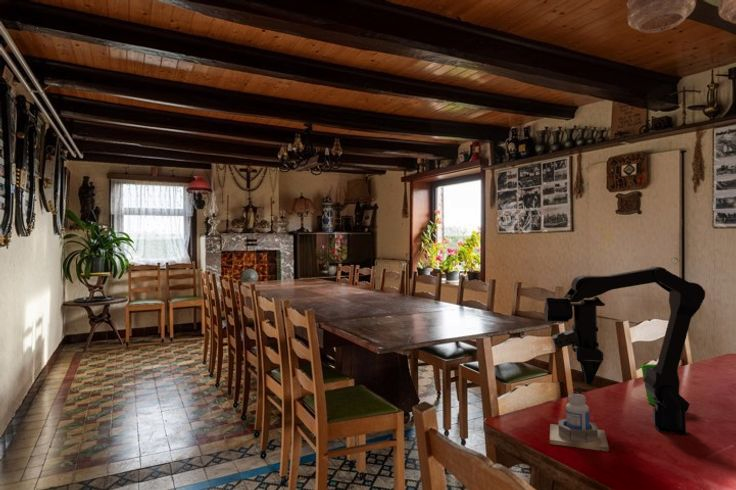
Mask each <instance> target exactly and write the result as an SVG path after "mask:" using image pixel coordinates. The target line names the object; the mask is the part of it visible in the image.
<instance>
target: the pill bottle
mask: <svg viewBox="0 0 736 490" xmlns="http://www.w3.org/2000/svg"><path fill="white" fill-rule="evenodd" d="M586 399H587V398H586V396H585V395H583V394H582V393H581V394H580V393H570V394H568V399H567V400H568V403H566V404H565V417H566V418H565V419H566V425H567V427H569V428H571V429H577V430H588V429H590V422H591V421H590V408H589V406H588V404H587V403H586Z"/></svg>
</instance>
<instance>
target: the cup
mask: <svg viewBox="0 0 736 490" xmlns="http://www.w3.org/2000/svg"><path fill="white" fill-rule="evenodd" d="M655 366H656V364H653V363H651V364H650V363H649V364H647V363H646V364H642V365H640V369H641V371H642V372H641V373H642V377H643V379H644V378H645V376H646V370H647V367H649V368H651V369H653V368H654V367H655ZM643 382H644V381H643ZM644 384H645V382H644ZM645 392H646V397H647V402H648V404H650V405H652V406H655V403H658V402H657V401H655V400H654V398H653V396H652V395H651V394H650V393H649V392H648V391H647V390H646V389H645Z"/></svg>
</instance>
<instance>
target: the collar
mask: <svg viewBox="0 0 736 490" xmlns="http://www.w3.org/2000/svg"><path fill="white" fill-rule="evenodd" d="M549 444H550V445H556V446H557V445H558V446H564V447H573V448H578V449H587V450H593V451H594V450H595V451H600V450H601V452H608V451H609V452H610V447H609V443H608V440H607V436H606V432H605V430H604V429H598V427H597V424H595V423H594V422H591V421H590V429H588V430H577V429H571V428H569V427H567V425H566V418H563V419H559V420H558V424H553V423H550V426H549Z"/></svg>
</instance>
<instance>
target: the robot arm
mask: <svg viewBox="0 0 736 490" xmlns="http://www.w3.org/2000/svg"><path fill="white" fill-rule="evenodd" d="M654 283H655V284H656V285H658V286H659V287H660V288H662V289H663V290H664V291H666V292H668V293H669V295H668V303H669V304H668V305H669V309H670V314H669V319H668V323H667V326H666V330H665V334H664V338H663V341H662V345H661V349H660V352H659V355H658V356H659V357H658V360H657V363H656V364H655V365H656V366H655V367H654V368H653V369H651V368H649V367H647V370H646V376H645V378H643V379H642V381H643V382H645V383H644V387H645V391H646V390H647V391H648V392H649V393H650V394H651V395H652V396H653V398H654V400H655V401H657V402H658V403H655V405H654V408H653V409H652V419H653V422H652V423H653V425H654V426H655V428H656V429H657V431H658V432H660V433H661V432H663V433H667V434H669V433H670V434H678V435H685V436H686V435H688V434H689V432H688V431H687V429H686V428H687V427H686V426H687V425H686V423H687V421H686V412H688V410H689V408H690V405H691V404H690V402H688V400H686V399H685V398H684V397H683V396H682V395H681V394H680V385H681V384H680V377H679V372H678V371H679V370H678V369H679V367H680V364H681V363H680V362H681V358H682V355H683V351H684V347H685V344H686V343H685V342H686V340H687V335H688V333H689V329H690V323H691V321H692V318H693V317H694V316H695V314H696V313H697V312H698V311H699V310H700V309H701V306H702V305H703V302H704V300H705V298H706V290H705V289H704V287H703V286H702V285H700V284H699V283H696V282H692V281H687V280H686V279H683V278H682V277H680V276H678V275H676V274H674V273H672V272H671V271H669V270H667V269H666V268H665V267H662V266H651V267H649V268H644V269H638V270H633V271H625V272H620V273H613V274H609V275H578V276H575V277H574V278H573V279H572V281H571V284H570V289H569V290H568V291H567V292H566V294H564V296H563V297H551V296H546V297H545V302H544V307H543V313H544V314H543V315H544V320H545V322H546V323H568V322H569V321H570V320H572V319H573V325H572V326H571V329H570V330H567V331H566V330H565V331H562V332H559V333H556V334H553V335H552V336H551V338H552V340H553V343H554V346H555V348H556V349H557V350H561V349H563V348H565V347H569V346H571V349H572V351H573V352H575V357H576V360H577V362H579V364H580V368H581V371H582V375H583V376H584V378H585V381H586V382H585V383H586V384H587V385H592V384H593V381H594V380H595V377H596V375H597V373H598V370H599V369H600V367H601V365H602V364H603V362H604V352H603V351H602V349H600V348H599V347H600V346H599V341H598V332H599V327H598V314H597V312H598V311H597V307H605V306H606V303H605V302H603V301H602V300H601V299H600V298H599V297H598V296H600V295H603V294H605V293H607V292H610V291H612V290H618V289H623V288H630V287H636V286H641V285H649V284H654Z"/></svg>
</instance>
